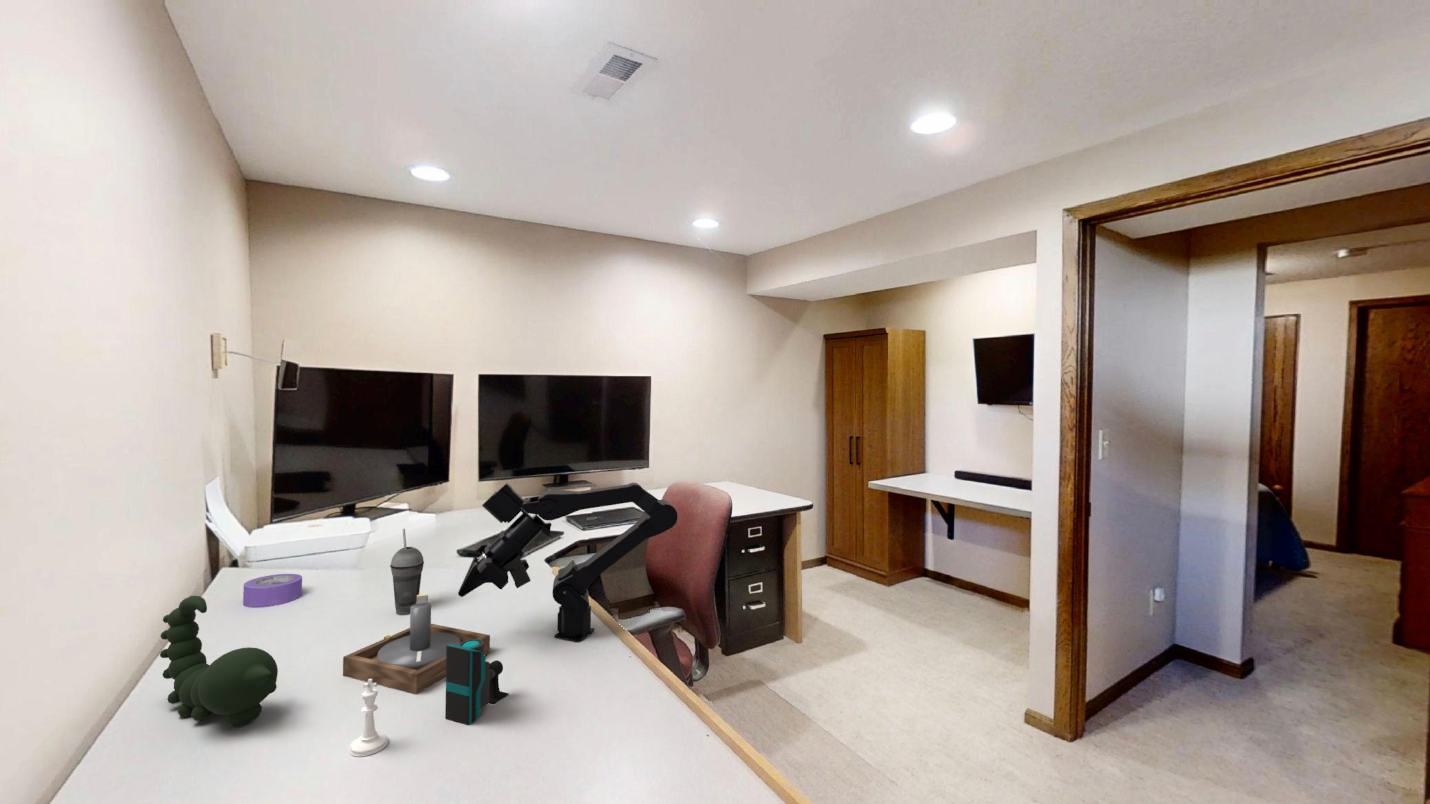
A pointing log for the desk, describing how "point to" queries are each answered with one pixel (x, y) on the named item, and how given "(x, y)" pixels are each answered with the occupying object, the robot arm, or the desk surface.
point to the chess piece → (369, 727)
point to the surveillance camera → (470, 681)
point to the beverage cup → (406, 577)
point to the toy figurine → (214, 672)
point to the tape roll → (272, 590)
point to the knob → (418, 640)
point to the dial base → (399, 677)
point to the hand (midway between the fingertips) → (459, 595)
